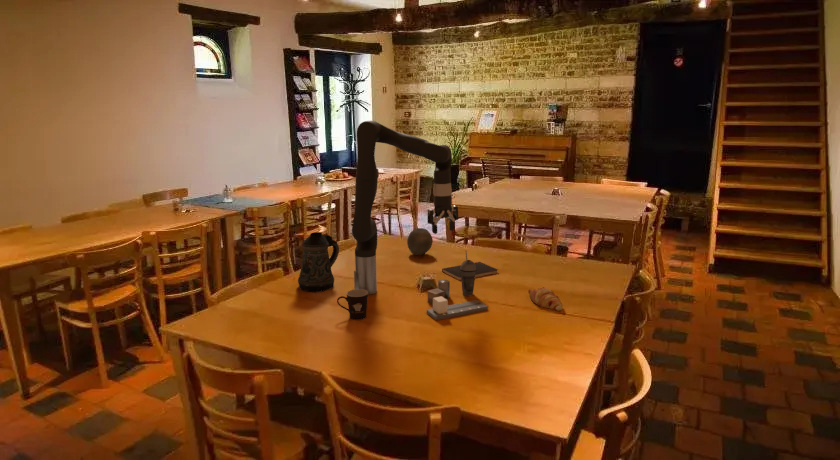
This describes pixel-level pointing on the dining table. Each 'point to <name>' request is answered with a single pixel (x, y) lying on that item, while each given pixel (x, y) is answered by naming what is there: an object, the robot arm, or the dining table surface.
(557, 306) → the croissant
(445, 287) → the metal canister
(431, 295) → the walnut block
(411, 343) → the dining table surface
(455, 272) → the hardcover book
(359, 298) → the coffee mug
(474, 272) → the beverage cup
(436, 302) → the knob
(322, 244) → the beer stein
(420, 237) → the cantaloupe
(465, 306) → the board
